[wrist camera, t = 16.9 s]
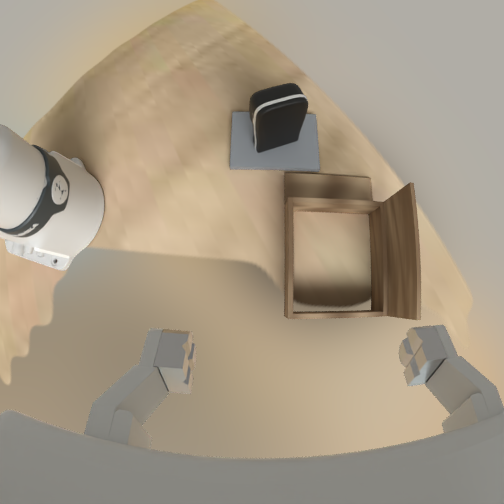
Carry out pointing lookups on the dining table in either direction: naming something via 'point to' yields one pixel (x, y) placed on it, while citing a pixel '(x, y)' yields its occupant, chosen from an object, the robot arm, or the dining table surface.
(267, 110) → the battery charger
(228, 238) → the dining table surface
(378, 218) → the wooden box
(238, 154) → the mat
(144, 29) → the dining table surface
